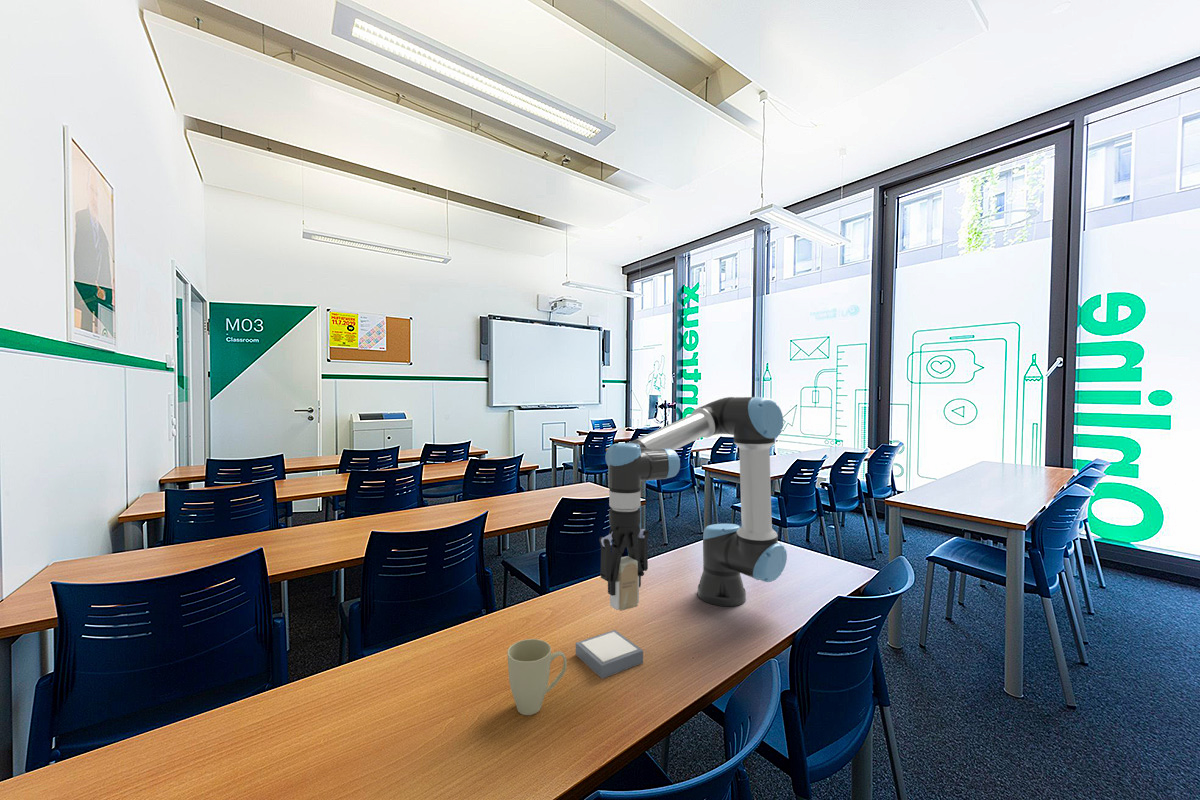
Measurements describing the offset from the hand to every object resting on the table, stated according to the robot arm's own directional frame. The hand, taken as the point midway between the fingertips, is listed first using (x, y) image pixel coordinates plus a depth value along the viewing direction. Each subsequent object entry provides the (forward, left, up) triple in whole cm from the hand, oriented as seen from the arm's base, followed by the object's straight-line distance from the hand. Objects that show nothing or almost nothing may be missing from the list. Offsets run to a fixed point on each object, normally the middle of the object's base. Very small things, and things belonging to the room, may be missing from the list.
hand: (624, 604), depth 112 cm
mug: (+25, +2, -15) cm, 29 cm away
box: (0, 0, -1) cm, 1 cm away
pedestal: (+2, -4, -15) cm, 15 cm away
